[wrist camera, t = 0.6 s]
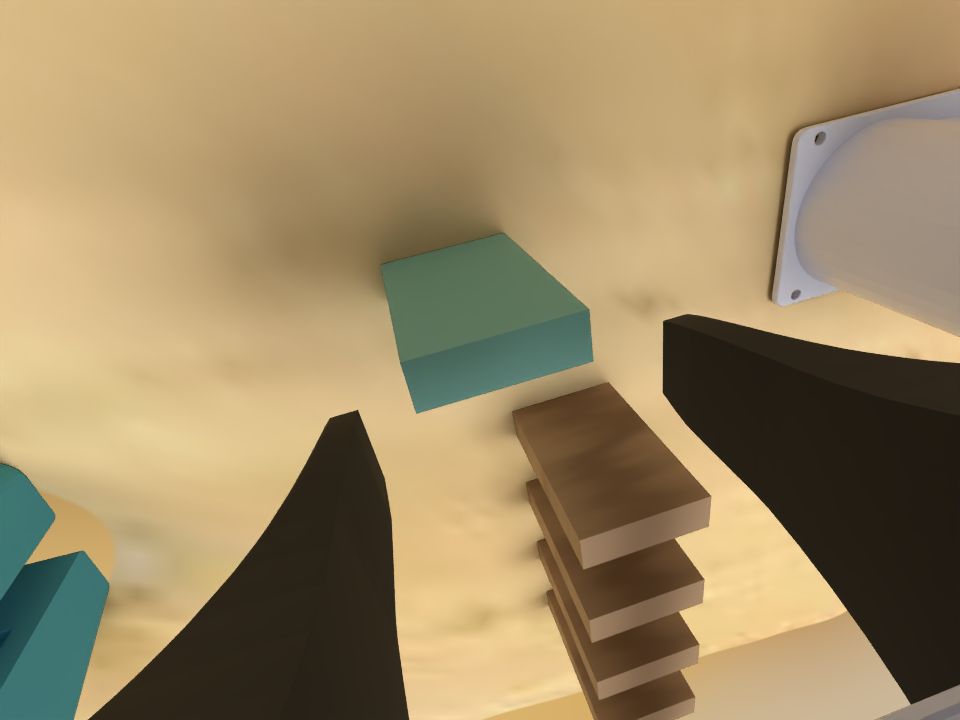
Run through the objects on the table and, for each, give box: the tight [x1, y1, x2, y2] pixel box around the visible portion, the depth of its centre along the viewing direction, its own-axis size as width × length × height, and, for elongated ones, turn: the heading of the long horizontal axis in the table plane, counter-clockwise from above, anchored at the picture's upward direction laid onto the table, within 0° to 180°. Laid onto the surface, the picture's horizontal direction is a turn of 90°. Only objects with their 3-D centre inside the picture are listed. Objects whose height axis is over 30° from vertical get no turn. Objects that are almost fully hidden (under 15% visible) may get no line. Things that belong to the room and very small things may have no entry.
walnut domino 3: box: [537, 539, 699, 700], centre depth 26 cm, size 5×2×8 cm, turn 101°
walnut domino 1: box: [513, 382, 711, 570], centre depth 21 cm, size 5×2×8 cm, turn 101°
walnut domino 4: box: [547, 589, 695, 720], centre depth 28 cm, size 5×2×8 cm, turn 101°
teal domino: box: [381, 233, 593, 414], centre depth 16 cm, size 5×2×8 cm, turn 101°
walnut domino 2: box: [526, 479, 704, 643], centre depth 24 cm, size 5×2×8 cm, turn 101°
